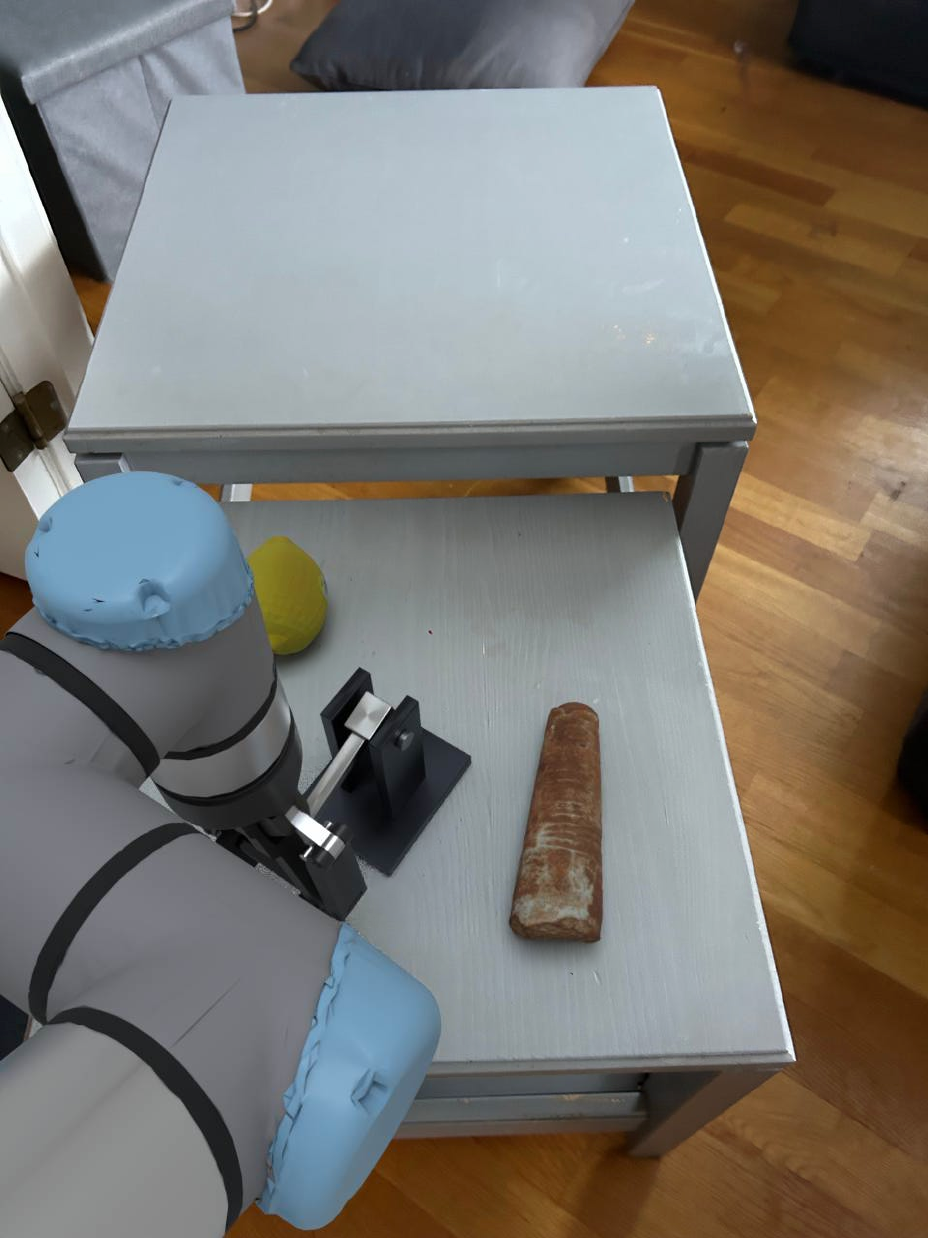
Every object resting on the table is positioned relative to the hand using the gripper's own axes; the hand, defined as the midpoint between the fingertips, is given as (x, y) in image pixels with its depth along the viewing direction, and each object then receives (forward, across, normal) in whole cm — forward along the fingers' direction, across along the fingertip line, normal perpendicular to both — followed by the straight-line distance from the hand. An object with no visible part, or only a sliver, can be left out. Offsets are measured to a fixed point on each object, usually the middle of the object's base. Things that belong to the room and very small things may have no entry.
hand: (289, 889), depth 66 cm
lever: (-5, 0, -6) cm, 8 cm away
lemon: (+3, +16, -19) cm, 25 cm away
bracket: (+3, 0, -11) cm, 11 cm away
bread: (+3, -13, -15) cm, 20 cm away
